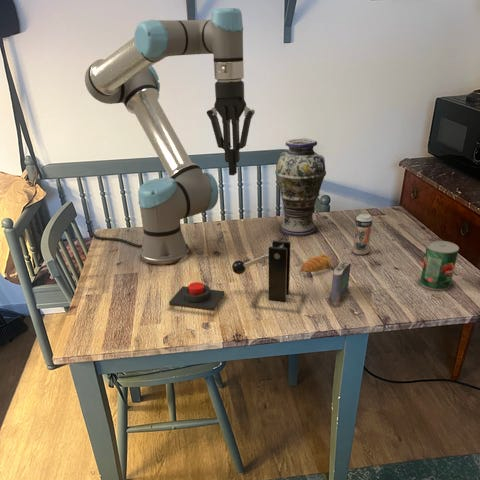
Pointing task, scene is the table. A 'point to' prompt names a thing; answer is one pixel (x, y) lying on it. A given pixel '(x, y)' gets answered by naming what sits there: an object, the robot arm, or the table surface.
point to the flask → (340, 280)
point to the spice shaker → (362, 234)
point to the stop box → (197, 299)
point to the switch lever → (249, 263)
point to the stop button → (196, 288)
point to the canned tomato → (439, 265)
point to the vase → (299, 185)
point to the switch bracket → (279, 271)
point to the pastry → (317, 263)
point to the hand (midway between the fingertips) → (232, 173)
